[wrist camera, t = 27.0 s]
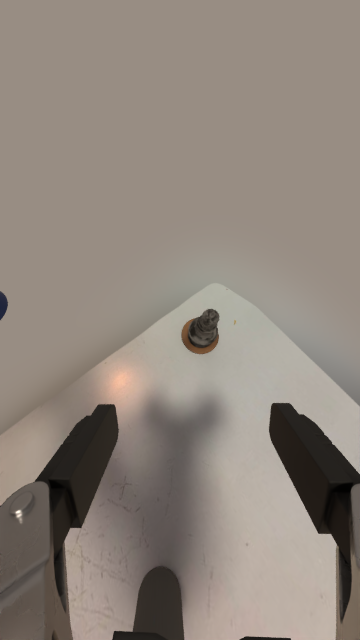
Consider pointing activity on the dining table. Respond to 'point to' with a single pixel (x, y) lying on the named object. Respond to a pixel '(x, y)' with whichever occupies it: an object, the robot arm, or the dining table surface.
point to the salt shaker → (204, 329)
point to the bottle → (160, 605)
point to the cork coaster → (193, 348)
